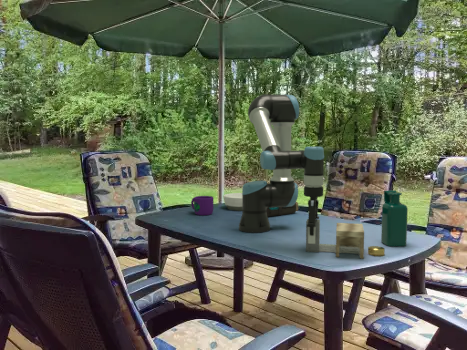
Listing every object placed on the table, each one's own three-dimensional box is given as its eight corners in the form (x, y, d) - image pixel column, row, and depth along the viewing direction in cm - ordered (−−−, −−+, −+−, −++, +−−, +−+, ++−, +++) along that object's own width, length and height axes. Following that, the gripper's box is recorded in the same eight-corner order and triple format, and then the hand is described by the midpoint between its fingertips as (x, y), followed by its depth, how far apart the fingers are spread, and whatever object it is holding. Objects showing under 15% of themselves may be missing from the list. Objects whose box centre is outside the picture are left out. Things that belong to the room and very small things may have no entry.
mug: (217, 214, 252) (217, 197, 251) (202, 216, 244) (202, 199, 243) (199, 210, 265) (198, 194, 264) (183, 212, 257) (183, 196, 256)
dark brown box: (300, 219, 250) (257, 218, 235) (293, 220, 256) (250, 219, 240) (299, 200, 252) (257, 198, 237) (292, 201, 258) (250, 199, 242)
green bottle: (408, 246, 178) (410, 193, 176) (388, 246, 177) (389, 193, 175) (397, 240, 188) (398, 190, 186) (378, 241, 187) (379, 190, 185)
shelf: (335, 256, 164) (336, 230, 163) (336, 246, 178) (336, 222, 177) (363, 258, 161) (364, 232, 160) (361, 248, 176) (362, 223, 175)
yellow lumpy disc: (376, 257, 163) (376, 251, 163) (364, 253, 168) (364, 247, 168) (387, 255, 166) (388, 249, 166) (376, 251, 171) (376, 245, 171)
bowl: (247, 213, 255) (247, 199, 254) (216, 209, 268) (216, 196, 267) (266, 207, 274) (266, 194, 273) (236, 204, 286) (236, 191, 285)
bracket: (305, 252, 170) (306, 222, 169) (307, 247, 177) (307, 218, 176) (362, 255, 165) (363, 224, 164) (362, 250, 172) (362, 220, 171)
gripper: (321, 190, 158) (320, 247, 160) (324, 182, 182) (323, 232, 184) (301, 190, 159) (300, 246, 162) (306, 182, 183) (305, 231, 186)
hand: (312, 239), depth 173 cm, fingers open, 13 cm apart
